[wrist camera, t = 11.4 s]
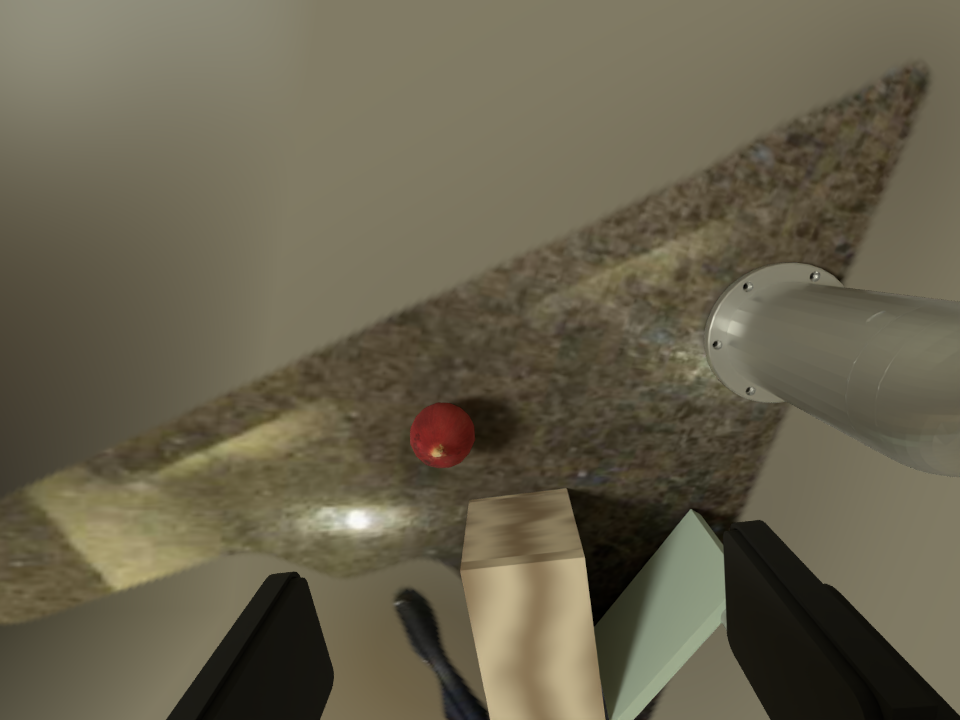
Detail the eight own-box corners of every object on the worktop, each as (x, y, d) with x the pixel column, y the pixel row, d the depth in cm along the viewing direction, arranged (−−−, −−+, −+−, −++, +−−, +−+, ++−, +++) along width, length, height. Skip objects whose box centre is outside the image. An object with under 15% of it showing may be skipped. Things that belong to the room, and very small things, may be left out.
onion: (449, 458, 46) (438, 501, 38) (406, 420, 45) (386, 456, 37) (488, 419, 45) (485, 455, 37) (445, 380, 44) (433, 408, 36)
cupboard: (566, 488, 46) (584, 557, 36) (585, 633, 50) (606, 732, 40) (469, 499, 47) (460, 570, 37) (496, 641, 51) (494, 740, 41)
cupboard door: (715, 523, 46) (846, 693, 28) (612, 644, 50) (671, 858, 33) (690, 508, 46) (807, 672, 28) (589, 632, 50) (636, 841, 32)
